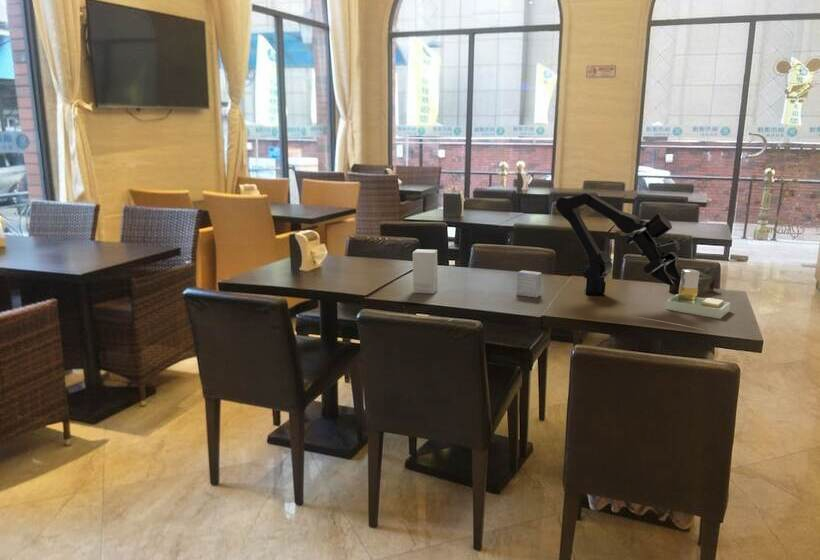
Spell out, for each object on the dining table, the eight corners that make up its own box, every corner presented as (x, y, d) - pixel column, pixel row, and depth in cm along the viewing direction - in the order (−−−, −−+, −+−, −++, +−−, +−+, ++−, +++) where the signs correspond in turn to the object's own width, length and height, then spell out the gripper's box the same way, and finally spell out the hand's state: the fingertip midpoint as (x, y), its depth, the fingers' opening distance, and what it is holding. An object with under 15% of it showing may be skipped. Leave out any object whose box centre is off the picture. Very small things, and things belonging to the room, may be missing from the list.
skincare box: (437, 290, 241) (438, 249, 237) (433, 294, 235) (434, 252, 231) (416, 288, 243) (416, 248, 239) (411, 292, 237) (412, 251, 233)
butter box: (700, 313, 213) (701, 301, 212) (706, 308, 218) (707, 297, 217) (716, 316, 210) (718, 304, 209) (722, 311, 215) (723, 300, 214)
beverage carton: (715, 291, 245) (717, 274, 244) (687, 299, 234) (689, 281, 233) (695, 287, 251) (697, 270, 250) (667, 294, 240) (669, 277, 239)
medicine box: (540, 295, 235) (542, 272, 233) (536, 298, 232) (538, 274, 230) (520, 292, 239) (521, 269, 237) (516, 295, 235) (517, 272, 233)
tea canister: (684, 311, 215) (689, 273, 212) (673, 306, 221) (677, 269, 218) (699, 309, 217) (703, 272, 214) (687, 305, 222) (691, 268, 219)
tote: (665, 310, 218) (666, 300, 217) (676, 303, 226) (677, 294, 225) (720, 320, 207) (721, 309, 207) (728, 312, 216) (730, 302, 215)
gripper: (657, 235, 212) (687, 273, 208) (675, 229, 226) (703, 264, 222) (631, 255, 218) (660, 292, 214) (650, 247, 232) (677, 282, 228)
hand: (676, 282), depth 219 cm, fingers open, 9 cm apart
